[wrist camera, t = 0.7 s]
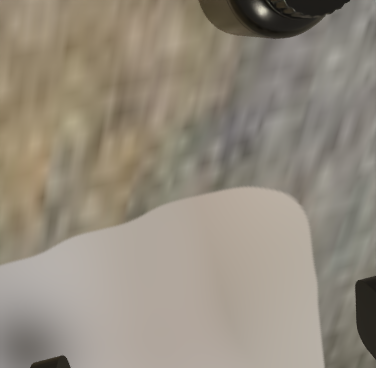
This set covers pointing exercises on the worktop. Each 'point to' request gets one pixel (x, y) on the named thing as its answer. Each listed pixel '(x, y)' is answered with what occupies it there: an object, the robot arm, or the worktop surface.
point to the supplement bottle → (268, 16)
